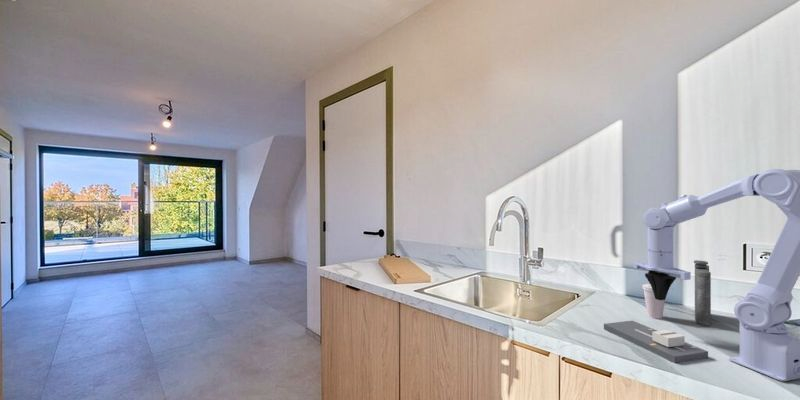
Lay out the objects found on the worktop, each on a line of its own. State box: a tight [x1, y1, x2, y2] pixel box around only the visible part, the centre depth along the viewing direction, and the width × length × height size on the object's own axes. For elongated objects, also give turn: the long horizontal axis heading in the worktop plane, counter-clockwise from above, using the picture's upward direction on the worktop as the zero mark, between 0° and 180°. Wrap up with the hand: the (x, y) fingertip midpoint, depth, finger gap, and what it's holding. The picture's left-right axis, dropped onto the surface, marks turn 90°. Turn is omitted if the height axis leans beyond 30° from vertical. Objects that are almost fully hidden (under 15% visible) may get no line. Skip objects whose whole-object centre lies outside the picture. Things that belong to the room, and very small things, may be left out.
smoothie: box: [641, 283, 666, 320], centre depth 105 cm, size 6×6×14 cm
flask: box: [693, 259, 712, 328], centre depth 102 cm, size 4×14×18 cm, turn 139°
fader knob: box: [652, 329, 685, 347], centre depth 83 cm, size 4×5×2 cm
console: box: [603, 320, 709, 364], centre depth 87 cm, size 20×10×2 cm, turn 12°
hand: (660, 299), depth 93 cm, fingers closed
